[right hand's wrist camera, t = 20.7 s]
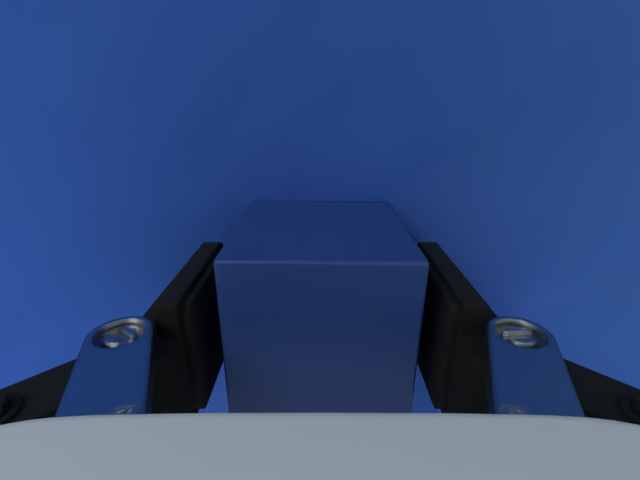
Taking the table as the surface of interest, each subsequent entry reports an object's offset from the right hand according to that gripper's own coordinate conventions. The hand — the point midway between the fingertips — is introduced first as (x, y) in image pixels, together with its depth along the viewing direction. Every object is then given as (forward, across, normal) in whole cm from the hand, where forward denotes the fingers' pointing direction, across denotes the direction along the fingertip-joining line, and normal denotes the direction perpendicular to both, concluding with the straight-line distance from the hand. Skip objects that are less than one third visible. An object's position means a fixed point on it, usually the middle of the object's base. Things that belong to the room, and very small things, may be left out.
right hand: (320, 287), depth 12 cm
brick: (+2, 0, 0) cm, 2 cm away
